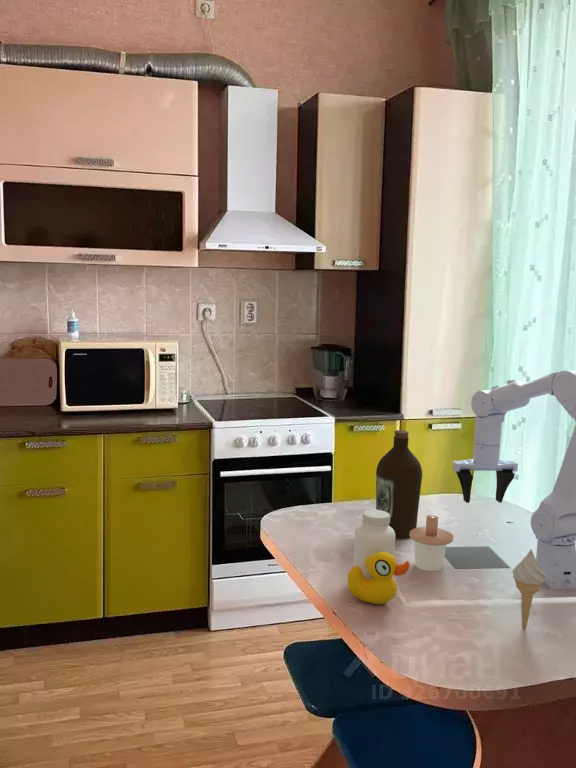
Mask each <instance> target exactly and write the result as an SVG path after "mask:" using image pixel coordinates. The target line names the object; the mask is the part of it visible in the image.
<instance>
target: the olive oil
mask: <svg viewBox="0 0 576 768" xmlns="http://www.w3.org/2000/svg"><path fill="white" fill-rule="evenodd" d="M409 439H410V438H409V431H407V430H403V429H397V430H395V431H394V436H393V446H392V447H391V448H390V450H388V451H387V453H385V454H384V455H383V456H382V457H381V458H380V459H379V461H378V463H377V466H376V470H375V510H381V511H385V512H387V513H389V514H390V523H389V526H390V527H391V528H392V529H393V530H394V532H395V540H407V539H411V538H410V536H409V533H410V531H411V530H412V529H414V528H418V514H419V507H420V506H419V505H420V497H421V491H422V490H421V489H422V481H423V469H422V464H421V463H420V461H419V459H418V458H417V457H416V456H415V455H414V453H413V452H412V450H410V449H409Z"/></svg>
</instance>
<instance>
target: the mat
mask: <svg viewBox="0 0 576 768" xmlns="http://www.w3.org/2000/svg"><path fill="white" fill-rule="evenodd" d="M444 558H445V559H446V560H447V561H448V562H449V563H450V565H451V566H452V567H453V569H455V570H468V569H469V570H470V569H471V570H472V569H475V570H476V569H511V567H510V566H509V565H508V563H506V562H505V561H504V560H503V559H502V558H501V557H500V556H499V555H498V554H497V553H496V552H495V551H494V550H493V549H492V548H491V547H490V546H489V545H488V546H487V545H486V546H481V545H479V546H446V551H445V557H444Z"/></svg>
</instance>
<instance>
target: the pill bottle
mask: <svg viewBox="0 0 576 768" xmlns="http://www.w3.org/2000/svg"><path fill="white" fill-rule="evenodd" d="M389 523H390V514H389V513H387V512H385V511H381V510H376V509H367V510H365V511H363V513H362V521H361V523H360V524H359V525H358V526H356V528H355V531H354V539H353V563H352V568H353V567H354V566H358V567H360V568H361V570H362V573H363V576H364V577H365V578H367V579H373V578H374V577H373V576H372V575H371V574H370V573H369V571H368V568H367V567H366V565H365V559H366V558H367V557H369V556H371V555H373V554H375V553H377V552H381V551H384V552H388V553H390V554H391V555H393V556H394V557H395V550H396V548H395V547H396V539H395V532H394V530H393V529H392V528H391V527H390V526H389ZM392 578H393V579H394V575H393V576H392Z"/></svg>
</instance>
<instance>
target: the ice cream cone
mask: <svg viewBox="0 0 576 768" xmlns="http://www.w3.org/2000/svg"><path fill="white" fill-rule="evenodd" d="M512 577H513V579H514V583H515V587H516V588H517V590H518V591H519V592H520V596H521V597H520V598H521V600H520V601H521V602H520V605H521V606H520V607H521V629H522V630H523V631H526V630H527V626H528V621H529V617H530V612H531V608H532V603H533V598H534V596H535V595H536V594H537V593H539V591H541V586H543V584H545V583H544V577H546V575H545V573H544V572H543V571H542V570H541V566H540V565H539V563H538V562H537V560H536V555H535V554H534V552H533V549H532V548H530V550H529V551H528V553H527V554H526V556H524V557H523V559H522V560H521V561H520V562H519V563H518V564H517V565H516V566H515V567H514V568H513V569H512Z"/></svg>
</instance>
